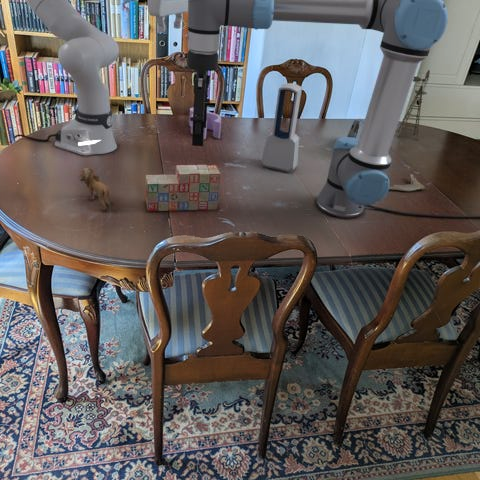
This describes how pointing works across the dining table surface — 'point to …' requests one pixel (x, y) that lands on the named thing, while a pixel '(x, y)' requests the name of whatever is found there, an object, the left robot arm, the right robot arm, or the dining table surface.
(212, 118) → the clip
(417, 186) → the jawbone
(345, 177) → the right robot arm
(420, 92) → the miniature windmill
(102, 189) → the lion figurine
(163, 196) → the stack of blocks
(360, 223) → the dining table surface
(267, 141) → the electronic device
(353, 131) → the handheld gaming console
